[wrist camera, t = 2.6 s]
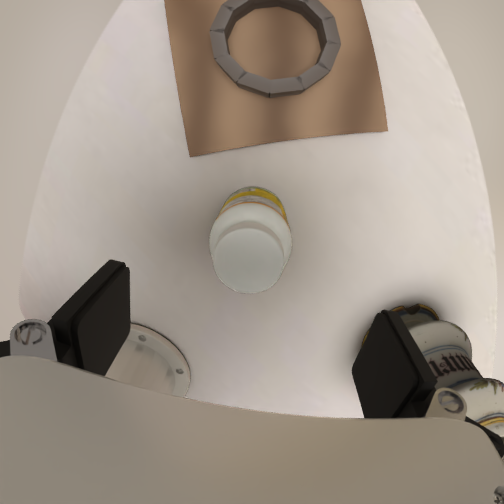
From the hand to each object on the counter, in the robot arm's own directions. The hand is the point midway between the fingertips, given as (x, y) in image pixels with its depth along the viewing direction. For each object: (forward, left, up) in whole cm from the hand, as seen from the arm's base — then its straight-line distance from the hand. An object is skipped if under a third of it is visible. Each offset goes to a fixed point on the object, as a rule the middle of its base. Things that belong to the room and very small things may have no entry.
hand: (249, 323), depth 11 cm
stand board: (+4, +14, -16) cm, 21 cm away
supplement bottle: (0, 0, -16) cm, 16 cm away
